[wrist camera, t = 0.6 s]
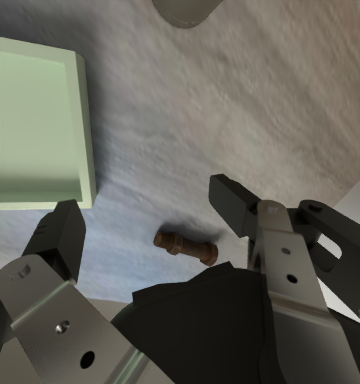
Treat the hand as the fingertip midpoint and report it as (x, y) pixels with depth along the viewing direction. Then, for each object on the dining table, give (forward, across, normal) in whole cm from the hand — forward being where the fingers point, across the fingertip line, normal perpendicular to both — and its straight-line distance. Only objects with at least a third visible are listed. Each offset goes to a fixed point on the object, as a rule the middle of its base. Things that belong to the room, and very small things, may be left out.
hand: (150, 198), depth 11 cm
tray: (+22, +15, -1) cm, 27 cm away
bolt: (+20, -9, +26) cm, 33 cm away
